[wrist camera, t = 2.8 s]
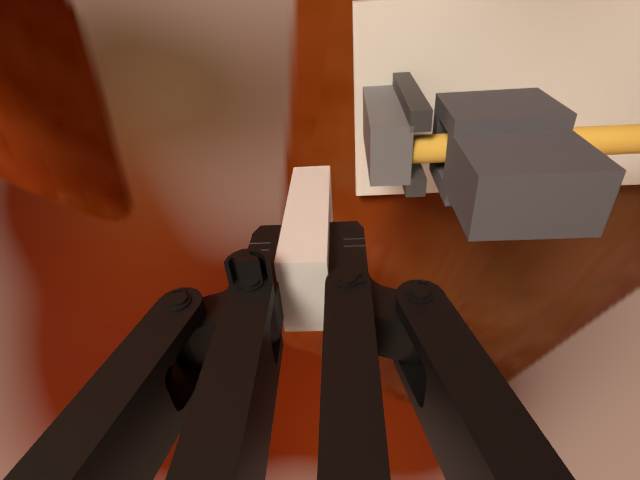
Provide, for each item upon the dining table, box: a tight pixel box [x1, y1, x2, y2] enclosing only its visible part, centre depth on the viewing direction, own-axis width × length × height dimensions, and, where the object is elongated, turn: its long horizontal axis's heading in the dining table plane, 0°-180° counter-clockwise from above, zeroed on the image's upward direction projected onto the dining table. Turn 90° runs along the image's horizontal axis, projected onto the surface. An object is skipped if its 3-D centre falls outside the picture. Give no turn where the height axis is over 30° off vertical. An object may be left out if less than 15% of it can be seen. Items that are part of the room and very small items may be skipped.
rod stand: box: [352, 0, 640, 197], centre depth 22 cm, size 12×22×10 cm, turn 94°
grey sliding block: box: [429, 87, 627, 242], centre depth 19 cm, size 4×5×8 cm
